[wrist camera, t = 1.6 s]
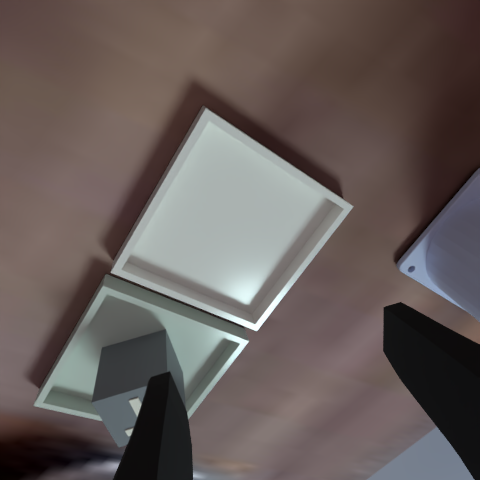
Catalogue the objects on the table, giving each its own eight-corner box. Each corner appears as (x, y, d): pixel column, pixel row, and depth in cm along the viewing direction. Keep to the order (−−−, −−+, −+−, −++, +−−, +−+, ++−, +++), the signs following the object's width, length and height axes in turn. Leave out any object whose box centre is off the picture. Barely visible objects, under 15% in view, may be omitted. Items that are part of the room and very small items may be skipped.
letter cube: (165, 329, 22) (167, 380, 19) (183, 372, 24) (187, 426, 21) (101, 347, 22) (91, 403, 18) (124, 390, 24) (118, 448, 20)
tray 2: (244, 328, 24) (248, 341, 23) (173, 422, 26) (174, 437, 25) (105, 273, 20) (103, 285, 19) (38, 389, 23) (33, 405, 22)
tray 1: (343, 199, 21) (353, 206, 20) (252, 318, 24) (256, 330, 22) (202, 105, 17) (205, 108, 16) (113, 261, 20) (110, 272, 19)
